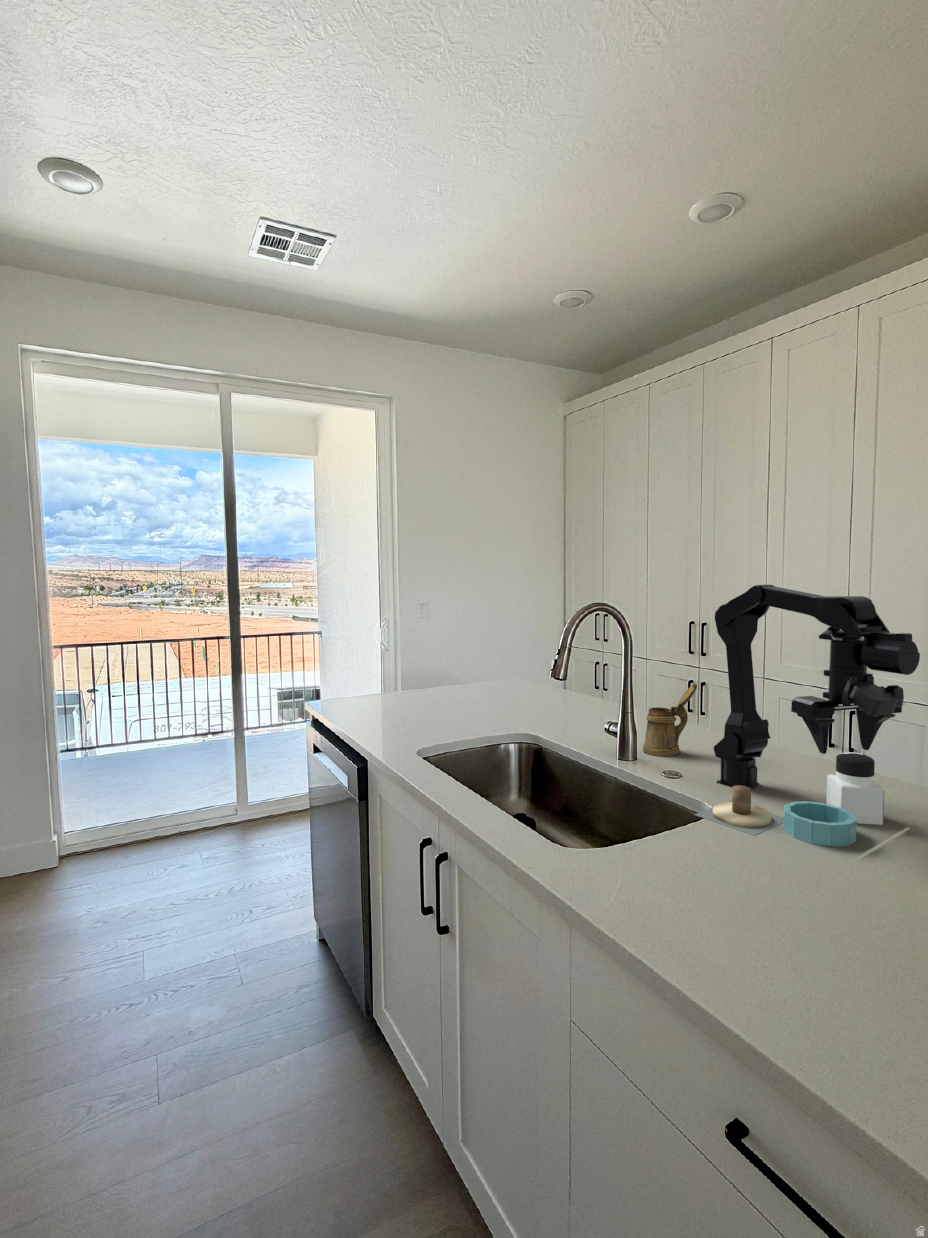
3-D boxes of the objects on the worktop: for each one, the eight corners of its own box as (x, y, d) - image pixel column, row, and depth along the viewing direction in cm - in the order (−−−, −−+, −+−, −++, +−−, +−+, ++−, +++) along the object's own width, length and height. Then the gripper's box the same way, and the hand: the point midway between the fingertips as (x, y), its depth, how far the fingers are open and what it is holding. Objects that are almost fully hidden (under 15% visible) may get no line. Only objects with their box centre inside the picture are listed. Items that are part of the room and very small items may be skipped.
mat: (693, 816, 116) (693, 814, 116) (730, 802, 123) (730, 800, 123) (754, 837, 106) (754, 835, 106) (790, 821, 113) (790, 819, 113)
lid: (701, 814, 116) (702, 786, 116) (731, 803, 122) (732, 776, 121) (752, 832, 108) (752, 802, 107) (781, 819, 113) (782, 790, 113)
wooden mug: (700, 757, 154) (700, 687, 153) (644, 755, 156) (644, 686, 155) (693, 748, 163) (694, 681, 162) (641, 746, 165) (641, 680, 164)
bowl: (771, 832, 109) (772, 810, 108) (802, 818, 115) (803, 797, 114) (836, 854, 100) (837, 830, 99) (866, 837, 106) (867, 814, 106)
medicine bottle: (884, 826, 110) (885, 761, 109) (840, 824, 112) (841, 759, 111) (866, 812, 117) (867, 750, 116) (825, 810, 119) (826, 749, 118)
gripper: (840, 676, 100) (837, 769, 101) (933, 671, 104) (928, 761, 105) (790, 666, 111) (787, 750, 112) (876, 661, 115) (872, 743, 116)
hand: (844, 751), depth 111 cm, fingers open, 9 cm apart
